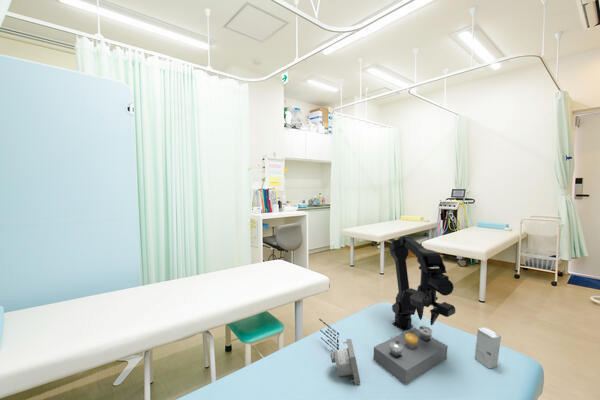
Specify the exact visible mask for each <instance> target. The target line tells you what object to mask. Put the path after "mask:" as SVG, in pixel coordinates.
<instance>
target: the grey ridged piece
mask: <svg viewBox="0 0 600 400" xmlns="http://www.w3.org/2000/svg"><path fill="white" fill-rule="evenodd" d="M318 320H319V321H320V322H322V323H323V324H324V325H325V326H327V330H325V332H324V331H323V330H321V329H320V332H321V333H322V334H323V335H325V336H326V338H327V340H326V339H324V338H323V337H322V336H321V337H320V339H321V340H322V341H323V342H325V343H326V344H327V345H328V346H329V347H330V348H331V349H330V350H331V352H330V359H331V360H330V361H331V363H332V364H334V363H335V366H336V371H337V376H338V377H343V376H345V377H346V376H351V375H353V379H352V380H350V382H352V383H353V382H354V385H355V386H357V385H360V384H361V379H360V374H359V370H358V369H359V368H358V364H357V359H356V354H355V349H354V344H353V340H352V339H351V338H345V339H346V341H344V342H342V344H346V345H347V348H346V347H345V348H340V345H339V343H340V342H339V339H338V338H339V337H340V333H339V332H338V331H336V329H334V328H332V327H331V325H328V324H327V323H326V322H325V321H323V319H320V318H319V319H318ZM326 333H327V334H326ZM332 334H333V335H332ZM328 335H329V336H328ZM334 340H335V341H334ZM332 342H333V343H332ZM330 344H331V345H330ZM339 348H340V349H339Z"/></svg>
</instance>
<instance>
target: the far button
mask: <svg viewBox="0 0 600 400" xmlns="http://www.w3.org/2000/svg"><path fill="white" fill-rule="evenodd" d="M418 330H419V334H420V335H421V337H420V339H421V340H423V341H425V342H428V341H430V337H432V335H433V334H432V333H433V330H432V328H430V327H428V326H426V325H425V326H424V325H421V326H420V327H419V329H418Z"/></svg>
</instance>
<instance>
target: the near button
mask: <svg viewBox="0 0 600 400" xmlns="http://www.w3.org/2000/svg"><path fill="white" fill-rule="evenodd" d="M389 349H390V350H391V355H392V356H393V357H395V358H396V359H397V358H399V357H400V356H401V353H402V349H403V345H402V343H401V342H399V341H396V340H392V341H390V345H389Z"/></svg>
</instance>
